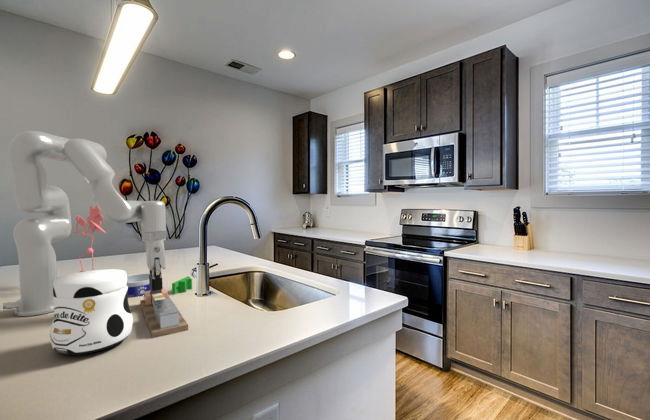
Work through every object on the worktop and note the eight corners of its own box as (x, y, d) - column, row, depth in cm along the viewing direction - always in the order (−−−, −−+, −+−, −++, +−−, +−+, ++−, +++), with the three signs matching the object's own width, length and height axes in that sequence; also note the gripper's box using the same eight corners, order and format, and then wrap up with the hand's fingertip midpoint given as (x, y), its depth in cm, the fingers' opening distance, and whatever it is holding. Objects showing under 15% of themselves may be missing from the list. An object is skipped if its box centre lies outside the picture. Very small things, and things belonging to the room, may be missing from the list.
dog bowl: (127, 300, 121) (126, 284, 121) (107, 294, 129) (106, 279, 129) (166, 290, 134) (165, 275, 134) (145, 285, 142) (144, 271, 142)
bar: (169, 313, 101) (168, 283, 100) (158, 316, 99) (157, 285, 99) (159, 297, 117) (158, 271, 117) (150, 299, 116) (149, 272, 115)
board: (188, 329, 93) (188, 324, 93) (152, 337, 88) (152, 332, 88) (168, 299, 121) (168, 295, 120) (140, 304, 115) (140, 300, 115)
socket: (168, 301, 114) (167, 292, 114) (146, 305, 110) (145, 296, 110) (164, 296, 120) (164, 288, 120) (143, 300, 116) (143, 291, 116)
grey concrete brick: (179, 325, 92) (179, 310, 92) (160, 329, 90) (160, 314, 90) (170, 310, 104) (170, 297, 104) (153, 314, 102) (153, 300, 102)
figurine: (92, 291, 133) (91, 205, 132) (65, 283, 147) (64, 205, 146) (131, 283, 146) (130, 205, 145) (103, 276, 160) (102, 205, 159)
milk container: (38, 368, 73) (34, 288, 72) (64, 337, 89) (61, 272, 88) (128, 352, 80) (125, 279, 79) (137, 326, 96) (135, 266, 95)
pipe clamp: (181, 295, 127) (180, 283, 127) (172, 295, 128) (171, 283, 127) (196, 286, 138) (195, 276, 138) (187, 286, 139) (187, 276, 138)
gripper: (170, 237, 108) (172, 291, 109) (162, 233, 122) (163, 281, 123) (144, 239, 104) (146, 295, 105) (139, 234, 118) (141, 284, 119)
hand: (155, 287), depth 114 cm, fingers open, 6 cm apart
